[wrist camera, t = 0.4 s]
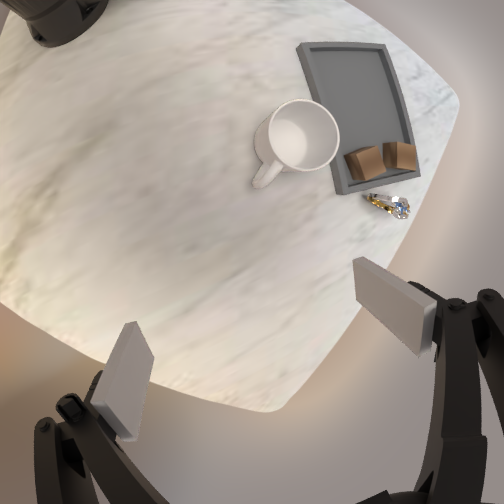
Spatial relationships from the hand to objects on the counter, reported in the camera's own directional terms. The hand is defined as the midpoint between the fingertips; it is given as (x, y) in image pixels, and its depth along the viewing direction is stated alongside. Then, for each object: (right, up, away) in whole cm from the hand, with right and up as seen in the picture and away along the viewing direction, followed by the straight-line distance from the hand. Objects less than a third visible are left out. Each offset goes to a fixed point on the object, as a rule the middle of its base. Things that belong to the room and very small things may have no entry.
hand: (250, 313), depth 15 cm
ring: (+20, +12, +27) cm, 35 cm away
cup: (+3, +17, +22) cm, 28 cm away
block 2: (+23, +19, +24) cm, 38 cm away
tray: (+17, +26, +22) cm, 38 cm away
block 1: (+16, +17, +23) cm, 33 cm away
